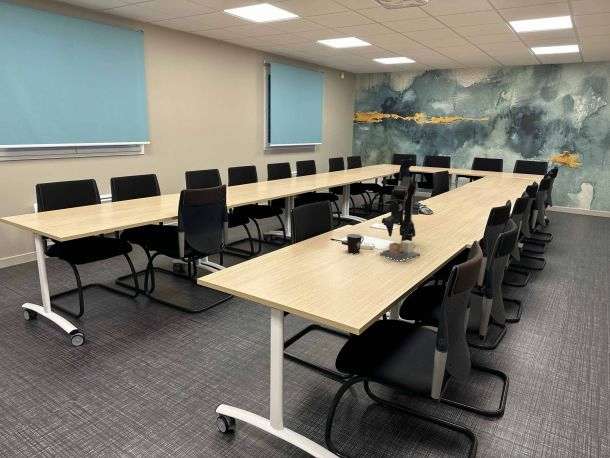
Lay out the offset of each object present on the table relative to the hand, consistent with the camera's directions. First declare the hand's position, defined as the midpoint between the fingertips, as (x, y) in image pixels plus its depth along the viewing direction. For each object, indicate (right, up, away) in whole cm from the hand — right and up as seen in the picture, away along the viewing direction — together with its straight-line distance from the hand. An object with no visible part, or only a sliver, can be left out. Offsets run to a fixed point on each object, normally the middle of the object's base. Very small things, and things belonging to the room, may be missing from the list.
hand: (396, 238), depth 235 cm
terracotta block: (0, -9, +2) cm, 9 cm away
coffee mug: (-21, -9, +10) cm, 25 cm away
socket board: (+3, -10, +5) cm, 12 cm away
